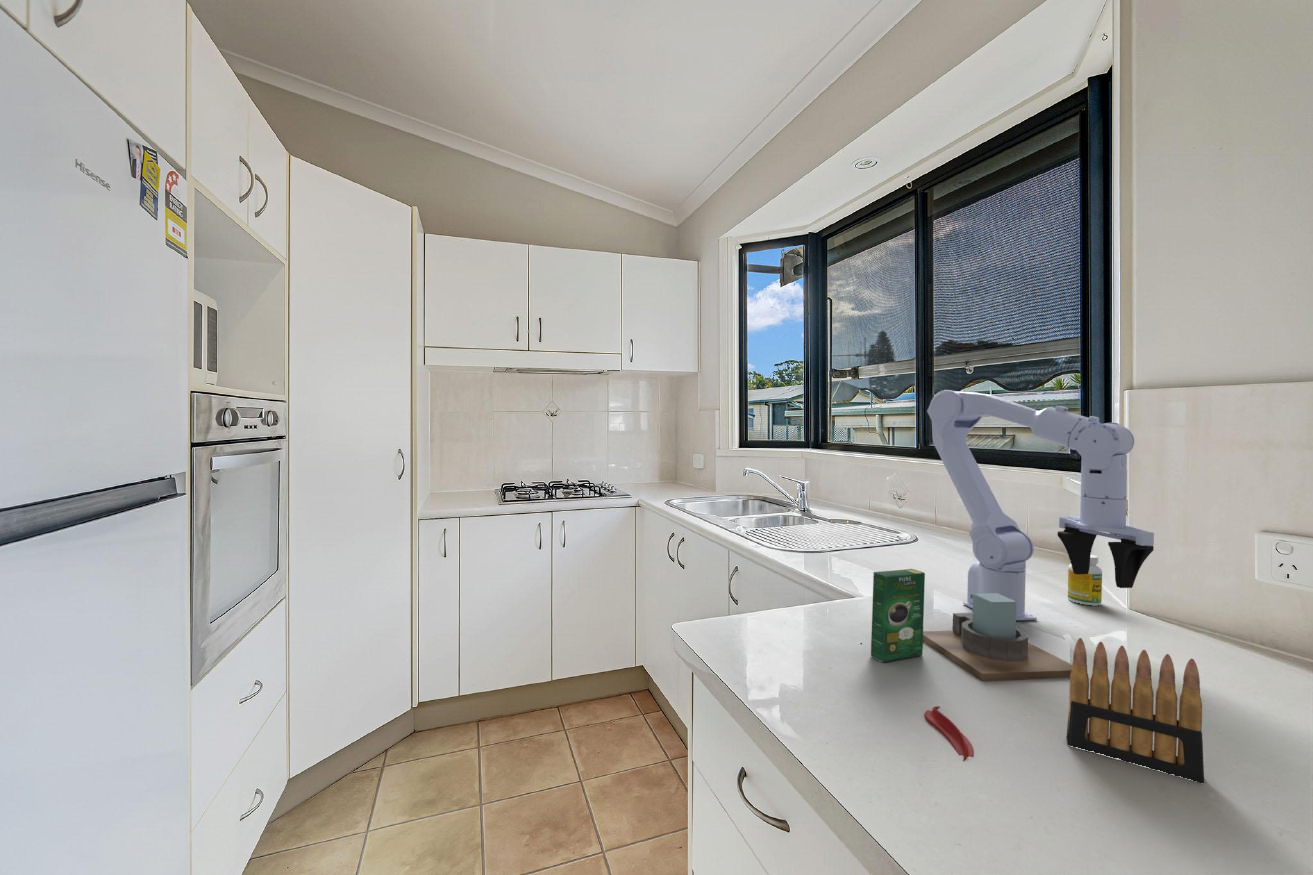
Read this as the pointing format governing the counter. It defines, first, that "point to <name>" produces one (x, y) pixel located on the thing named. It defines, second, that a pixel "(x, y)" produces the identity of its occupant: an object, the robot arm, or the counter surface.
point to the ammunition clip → (1137, 713)
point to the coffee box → (897, 614)
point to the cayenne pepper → (950, 732)
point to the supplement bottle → (1086, 584)
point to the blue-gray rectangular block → (994, 615)
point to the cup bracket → (995, 653)
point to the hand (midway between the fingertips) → (1101, 580)
